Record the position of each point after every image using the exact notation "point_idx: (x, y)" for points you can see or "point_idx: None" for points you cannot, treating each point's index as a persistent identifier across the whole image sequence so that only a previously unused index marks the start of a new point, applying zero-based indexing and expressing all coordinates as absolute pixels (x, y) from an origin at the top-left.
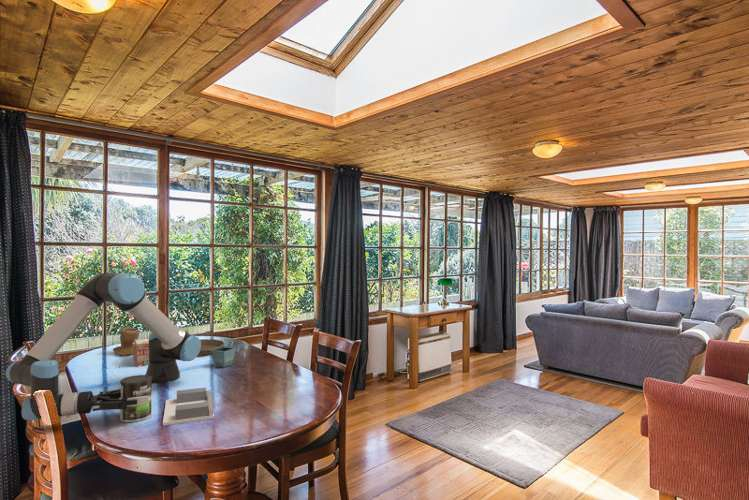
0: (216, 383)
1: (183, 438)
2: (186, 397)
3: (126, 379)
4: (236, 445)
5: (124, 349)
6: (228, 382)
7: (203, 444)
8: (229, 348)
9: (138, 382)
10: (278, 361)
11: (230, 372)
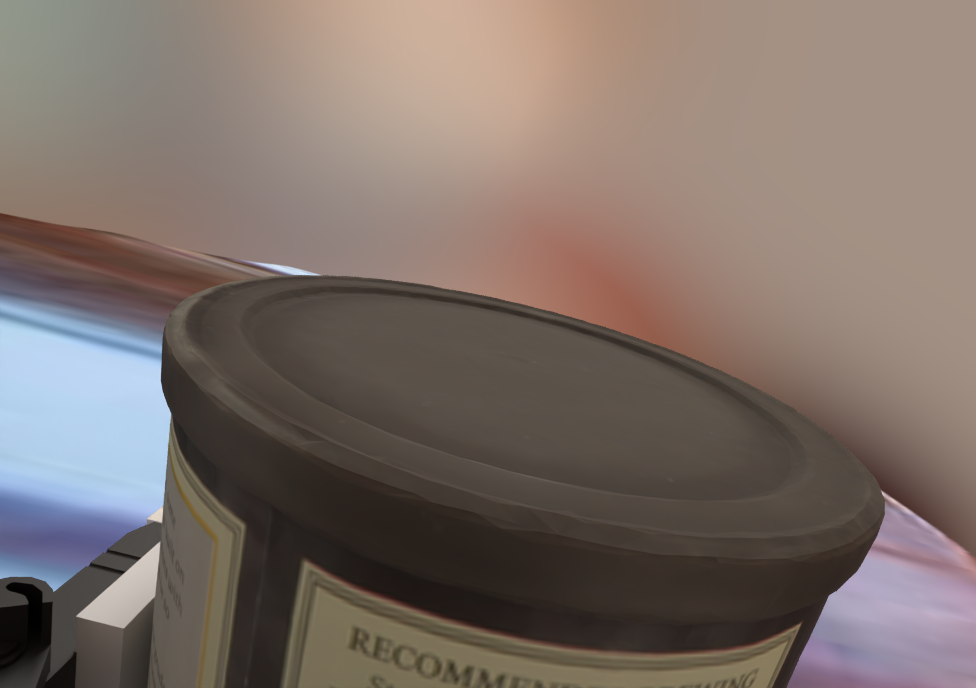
0: (105, 332)
1: (925, 637)
2: None
3: (419, 412)
4: (920, 525)
5: None
6: (157, 321)
7: (962, 592)
8: None
9: (772, 398)
10: (101, 235)
11: (4, 274)
